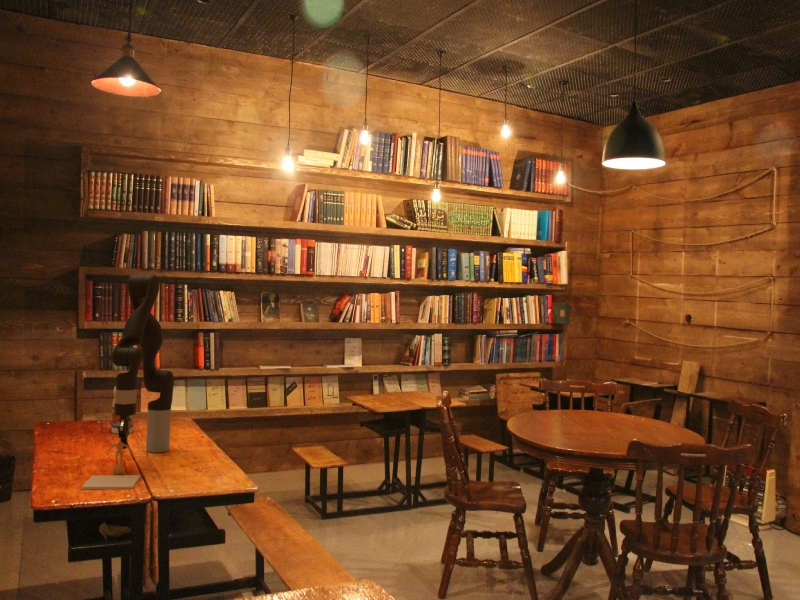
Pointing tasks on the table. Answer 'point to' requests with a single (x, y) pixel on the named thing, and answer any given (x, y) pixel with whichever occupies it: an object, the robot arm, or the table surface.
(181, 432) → the table surface
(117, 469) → the figurine
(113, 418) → the fruit juice
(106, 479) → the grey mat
